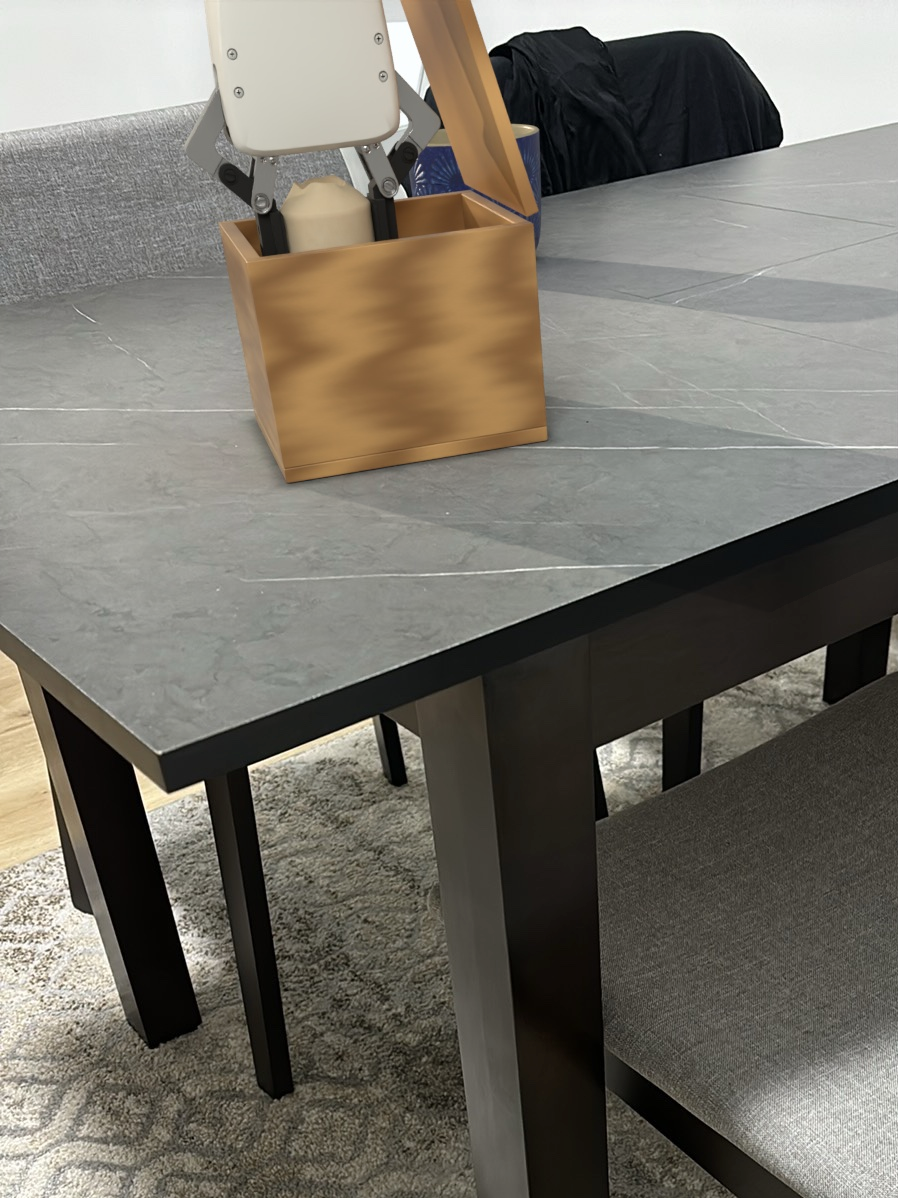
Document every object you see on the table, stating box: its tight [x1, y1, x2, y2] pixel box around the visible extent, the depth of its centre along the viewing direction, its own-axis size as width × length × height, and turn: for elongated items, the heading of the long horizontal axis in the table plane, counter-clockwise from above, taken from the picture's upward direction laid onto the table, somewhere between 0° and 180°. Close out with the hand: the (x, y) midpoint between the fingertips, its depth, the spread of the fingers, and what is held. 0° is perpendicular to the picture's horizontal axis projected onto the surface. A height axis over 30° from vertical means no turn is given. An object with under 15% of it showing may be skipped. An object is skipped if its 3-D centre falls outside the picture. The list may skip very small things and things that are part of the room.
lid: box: [399, 0, 539, 217], centre depth 81 cm, size 18×15×5 cm
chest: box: [218, 190, 548, 484], centre depth 89 cm, size 17×15×12 cm
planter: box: [408, 123, 542, 252], centre depth 131 cm, size 12×12×11 cm
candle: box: [278, 174, 375, 253], centre depth 86 cm, size 6×6×10 cm
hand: (334, 271), depth 86 cm, fingers closed on candle, 5 cm apart
